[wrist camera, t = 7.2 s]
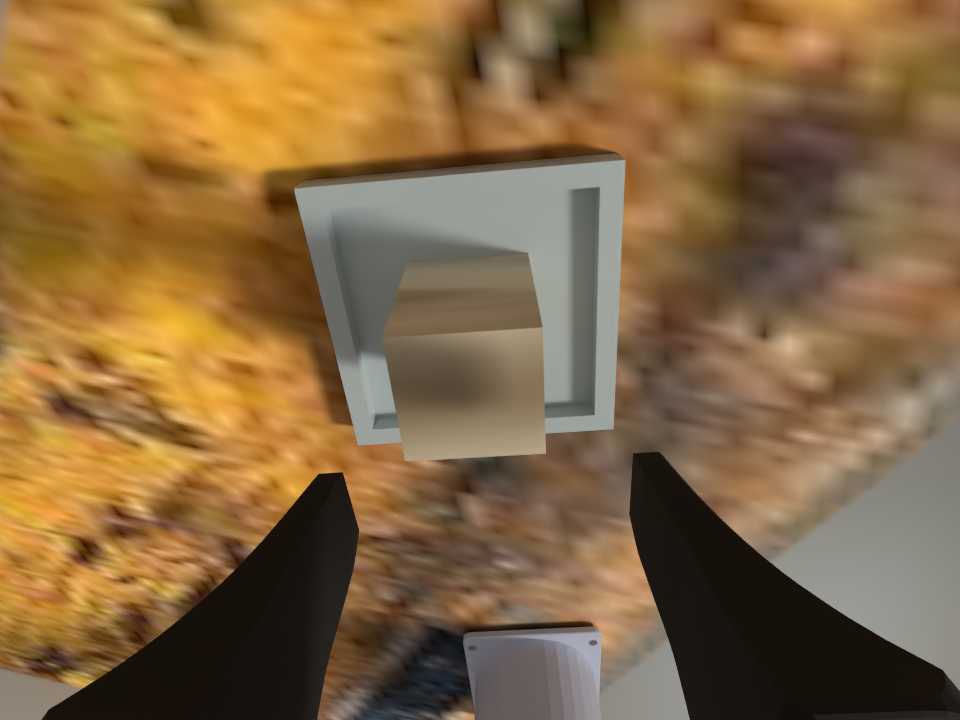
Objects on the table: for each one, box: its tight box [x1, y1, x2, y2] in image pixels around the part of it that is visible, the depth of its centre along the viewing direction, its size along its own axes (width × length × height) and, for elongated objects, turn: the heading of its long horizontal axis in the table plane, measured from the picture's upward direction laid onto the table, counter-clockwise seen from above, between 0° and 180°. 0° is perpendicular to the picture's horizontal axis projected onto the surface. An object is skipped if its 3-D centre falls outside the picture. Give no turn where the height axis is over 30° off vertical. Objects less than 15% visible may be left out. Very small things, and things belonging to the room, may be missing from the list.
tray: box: [294, 153, 625, 445], centre depth 22 cm, size 11×11×1 cm
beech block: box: [382, 253, 546, 461], centre depth 19 cm, size 4×4×6 cm
